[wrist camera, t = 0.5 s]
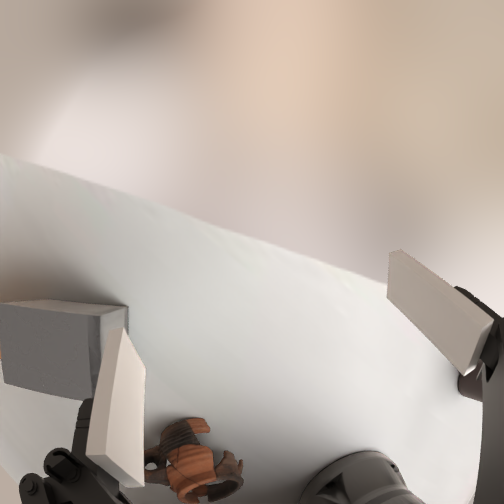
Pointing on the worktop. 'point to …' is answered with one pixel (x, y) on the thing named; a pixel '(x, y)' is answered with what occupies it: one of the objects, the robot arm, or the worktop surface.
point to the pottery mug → (191, 464)
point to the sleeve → (56, 344)
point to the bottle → (472, 384)
